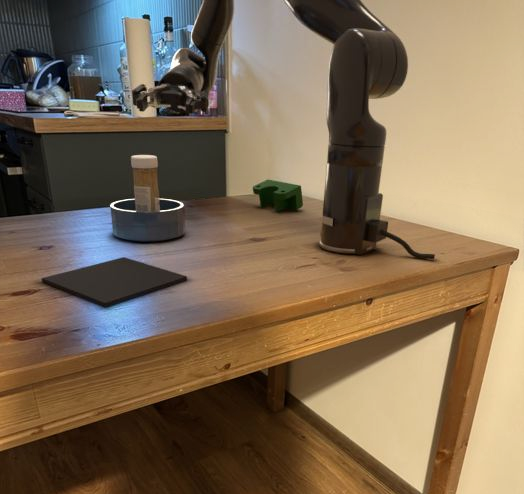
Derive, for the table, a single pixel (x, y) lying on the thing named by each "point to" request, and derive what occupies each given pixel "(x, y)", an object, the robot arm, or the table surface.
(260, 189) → the clamp
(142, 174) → the sprinkles bottle
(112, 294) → the mat
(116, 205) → the bowl
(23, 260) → the table surface
